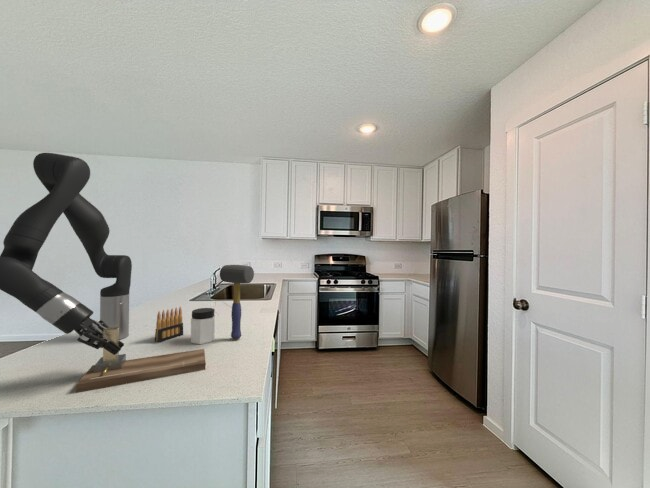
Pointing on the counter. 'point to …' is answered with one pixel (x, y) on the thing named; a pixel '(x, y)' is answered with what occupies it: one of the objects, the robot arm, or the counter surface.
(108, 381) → the walnut board
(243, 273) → the rubber mallet
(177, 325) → the ammunition clip
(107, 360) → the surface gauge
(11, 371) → the counter surface
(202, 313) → the jar
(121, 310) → the robot arm
